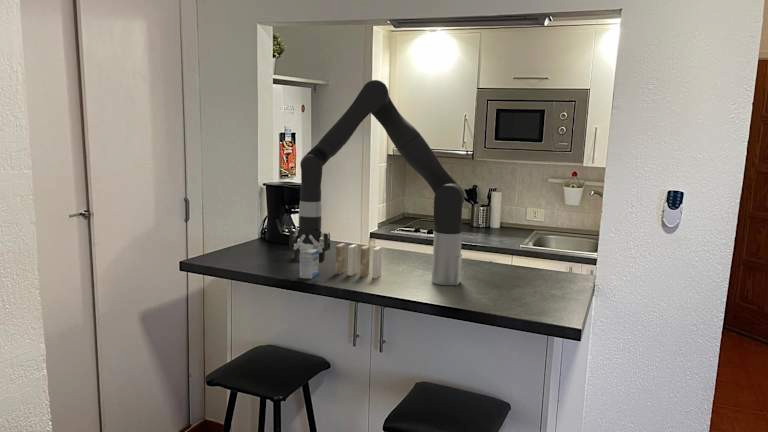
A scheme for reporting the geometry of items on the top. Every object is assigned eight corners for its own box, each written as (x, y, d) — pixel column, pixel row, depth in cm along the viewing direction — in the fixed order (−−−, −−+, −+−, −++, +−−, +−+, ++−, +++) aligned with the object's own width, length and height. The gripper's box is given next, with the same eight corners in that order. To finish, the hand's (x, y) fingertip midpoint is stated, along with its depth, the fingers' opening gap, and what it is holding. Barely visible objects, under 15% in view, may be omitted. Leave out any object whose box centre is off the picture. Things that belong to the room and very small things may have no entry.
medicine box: (311, 279, 196) (312, 253, 195) (299, 278, 197) (299, 252, 196) (319, 273, 204) (319, 249, 202) (306, 272, 204) (307, 248, 203)
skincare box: (313, 260, 225) (313, 241, 224) (297, 260, 224) (297, 241, 223) (312, 256, 231) (313, 238, 230) (297, 256, 230) (297, 238, 229)
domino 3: (368, 273, 206) (369, 245, 205) (364, 277, 201) (365, 248, 200) (364, 273, 206) (365, 245, 205) (359, 276, 202) (360, 247, 200)
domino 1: (344, 271, 209) (345, 243, 207) (339, 274, 204) (340, 246, 202) (340, 270, 209) (341, 243, 208) (335, 273, 204) (336, 245, 203)
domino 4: (381, 275, 205) (382, 246, 203) (376, 278, 200) (377, 249, 199) (376, 274, 205) (377, 246, 204) (372, 277, 200) (373, 249, 199)
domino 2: (356, 272, 207) (357, 244, 206) (351, 275, 203) (352, 247, 201) (352, 272, 208) (353, 244, 206) (347, 275, 203) (348, 246, 202)
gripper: (334, 214, 199) (332, 261, 201) (295, 211, 203) (295, 257, 205) (325, 217, 192) (324, 265, 194) (285, 214, 196) (285, 261, 198)
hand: (309, 261), depth 200 cm, fingers open, 8 cm apart
